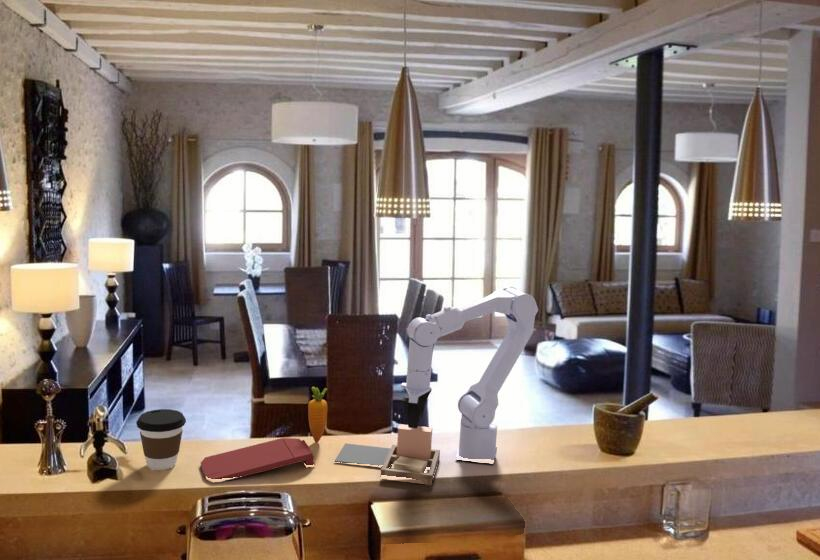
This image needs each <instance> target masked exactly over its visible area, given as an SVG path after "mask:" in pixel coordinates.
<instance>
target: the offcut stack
mask: <svg viewBox="0 0 820 560" xmlns="http://www.w3.org/2000/svg"><path fill="white" fill-rule="evenodd" d="M426 467H427V461H422V460H417V459H412V458H407V457H402V456H400V457H399V458H398V459H397V460H395V462H394V464H393V466H391V467H390V469H397V470H405V471H414V472H422V473H424V471H425V469H426Z"/></svg>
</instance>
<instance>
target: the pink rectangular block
mask: <svg viewBox="0 0 820 560" xmlns="http://www.w3.org/2000/svg"><path fill="white" fill-rule="evenodd" d="M432 441H433V427H430V426H429V427H428V426H423V425H422V426H419V425H418V427H417V428H409V427H408V424H402V423H400V424H399V426H398V427H397V444H396V445H397V455H399V456H408V457H417V458H426V459H431V449H432Z"/></svg>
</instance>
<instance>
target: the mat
mask: <svg viewBox="0 0 820 560" xmlns="http://www.w3.org/2000/svg"><path fill="white" fill-rule="evenodd" d="M390 449H391V447H389V448H388V447H381V446H371V445H364V444H354V443H347V442H346V443H344V444H343V446H342V448H341V450H340V451H339V452H338V454H337V456H336V457H335V459H334V462H340V463H341V462H342V463H357V464H370V465H378V466H379V465H383V464H384V462H385V460H386V457H387V455H388V453H389V451H390Z"/></svg>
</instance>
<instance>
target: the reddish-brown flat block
mask: <svg viewBox="0 0 820 560" xmlns="http://www.w3.org/2000/svg"><path fill="white" fill-rule="evenodd" d="M302 461H303V462H304V463H305V464H306V465H313V464H314V465H315V459H314V452H313V451H312V450H311V448H310V447H309V444H308V443H307V442H306V441H305V439H303V440H301V439H300V438H293V437H292V438H291V437H281V438H277V439H273V440H269V441H264V442H260V443H257V444H253V445H249V446H245V447H242V448H237V449H233V450H230V451H226V452H221V453H217V454H213V455H210V456H206V457H204V458H203V459H202V460H201V462H200V466H202V467H201V470H202V469H203V470H202V472H204V473H203V475H204V474H205V476H207V477H208V478H211V479H222V478H233V477H240V476H244V477H246V476H251V475H254V474H258V473H262V472H266V471H269V470H274V469H277V468H281V467H285V466H288V465H293V464H297V463H300V462H302ZM303 462H302V463H303ZM205 476H204V477H205ZM240 478H241V477H240Z"/></svg>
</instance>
